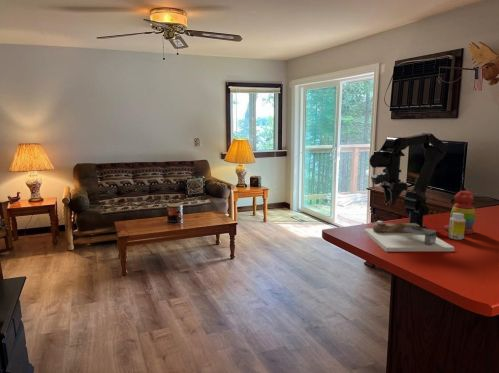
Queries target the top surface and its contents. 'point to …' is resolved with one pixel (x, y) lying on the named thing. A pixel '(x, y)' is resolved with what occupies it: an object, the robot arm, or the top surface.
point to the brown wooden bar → (392, 227)
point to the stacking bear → (464, 210)
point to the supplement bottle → (456, 226)
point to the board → (405, 241)
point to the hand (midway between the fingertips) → (390, 202)
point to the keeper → (423, 233)
